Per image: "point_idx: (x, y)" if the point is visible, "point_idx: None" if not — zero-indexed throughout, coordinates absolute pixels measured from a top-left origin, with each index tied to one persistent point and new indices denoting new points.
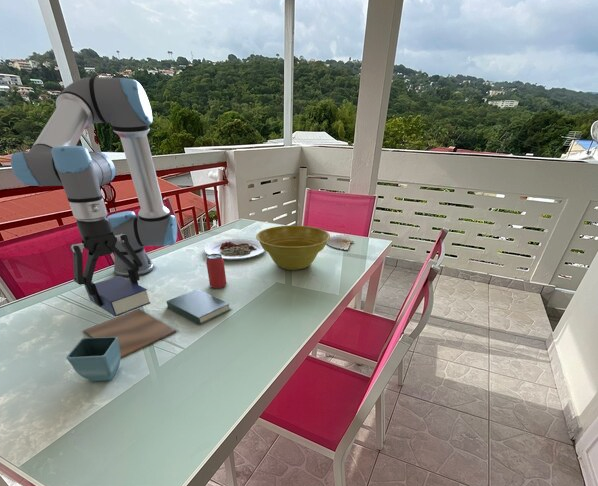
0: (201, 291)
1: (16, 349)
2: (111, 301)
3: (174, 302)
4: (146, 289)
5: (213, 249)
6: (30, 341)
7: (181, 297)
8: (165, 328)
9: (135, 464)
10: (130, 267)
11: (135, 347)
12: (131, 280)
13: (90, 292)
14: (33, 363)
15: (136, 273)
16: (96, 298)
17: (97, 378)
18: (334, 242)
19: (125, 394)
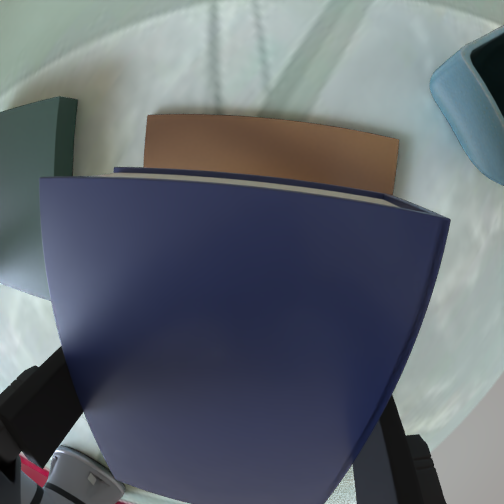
0: None
1: (455, 415)
2: (437, 218)
3: None
4: (42, 177)
5: None
6: (424, 427)
7: (27, 279)
8: (159, 161)
9: None
10: (7, 459)
11: (325, 138)
12: (75, 405)
13: (421, 455)
14: (493, 339)
15: (7, 400)
16: (389, 410)
17: (497, 93)
18: None
19: (460, 3)
